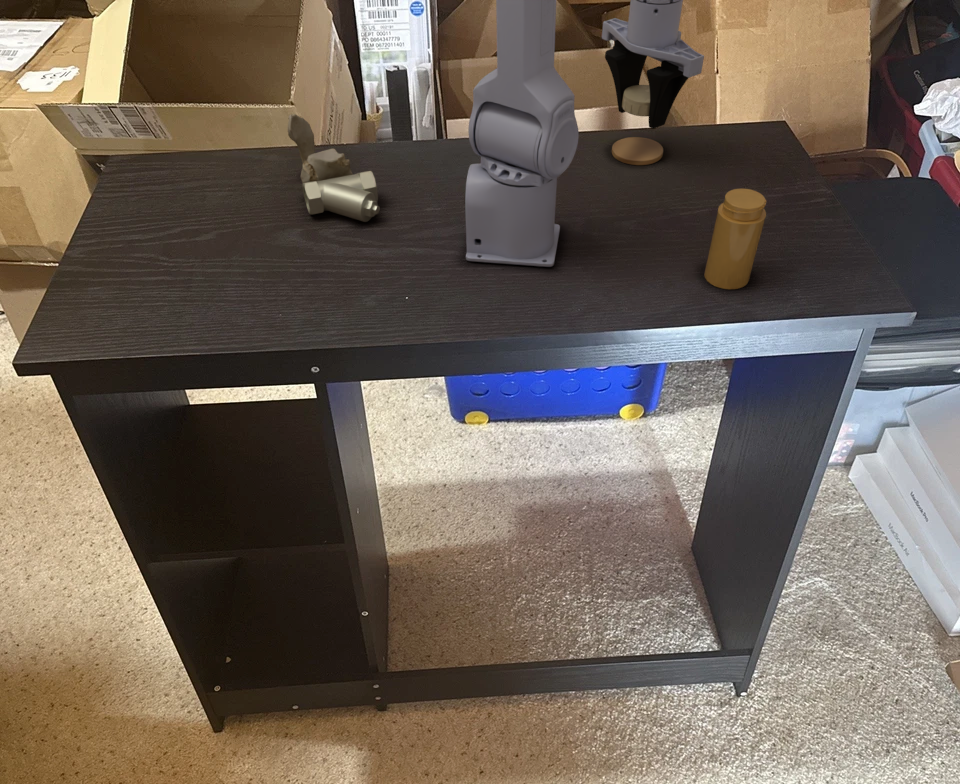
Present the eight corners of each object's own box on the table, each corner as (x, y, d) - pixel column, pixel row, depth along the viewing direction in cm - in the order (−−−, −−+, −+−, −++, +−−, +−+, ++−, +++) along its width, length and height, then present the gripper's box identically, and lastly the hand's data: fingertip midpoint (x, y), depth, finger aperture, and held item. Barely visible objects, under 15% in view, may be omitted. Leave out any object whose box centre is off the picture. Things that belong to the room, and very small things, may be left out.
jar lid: (672, 109, 101) (675, 95, 99) (641, 120, 99) (643, 106, 97) (644, 95, 103) (646, 81, 102) (613, 105, 101) (614, 91, 100)
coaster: (610, 163, 103) (610, 159, 103) (612, 140, 108) (613, 135, 107) (662, 166, 103) (663, 162, 102) (662, 142, 107) (663, 138, 106)
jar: (705, 288, 86) (722, 209, 79) (703, 263, 89) (719, 185, 82) (751, 290, 85) (772, 211, 78) (747, 265, 88) (767, 187, 82)
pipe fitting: (387, 225, 95) (371, 193, 99) (384, 195, 92) (368, 163, 96) (318, 238, 94) (305, 205, 98) (313, 208, 91) (300, 175, 95)
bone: (360, 191, 97) (303, 118, 91) (317, 220, 99) (258, 151, 93) (362, 161, 103) (308, 91, 97) (321, 189, 105) (266, 122, 99)
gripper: (731, 5, 89) (708, 129, 99) (638, -29, 97) (625, 89, 107) (685, 21, 87) (665, 147, 97) (592, -16, 95) (583, 104, 105)
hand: (641, 117), depth 102 cm, fingers closed on jar lid, 5 cm apart
